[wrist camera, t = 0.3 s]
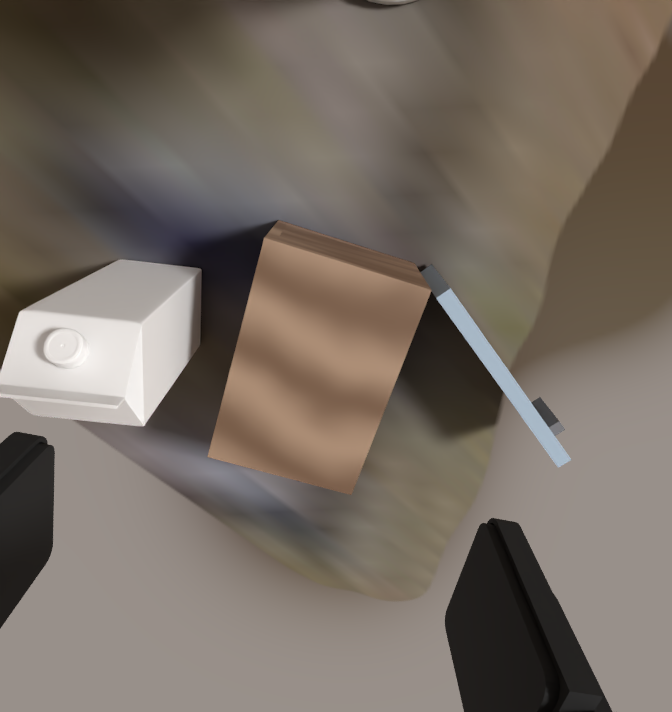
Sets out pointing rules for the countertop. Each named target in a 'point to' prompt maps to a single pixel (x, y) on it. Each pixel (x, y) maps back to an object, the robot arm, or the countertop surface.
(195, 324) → the milk carton
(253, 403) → the walnut cabinet
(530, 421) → the cabinet door
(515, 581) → the robot arm
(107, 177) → the countertop surface
